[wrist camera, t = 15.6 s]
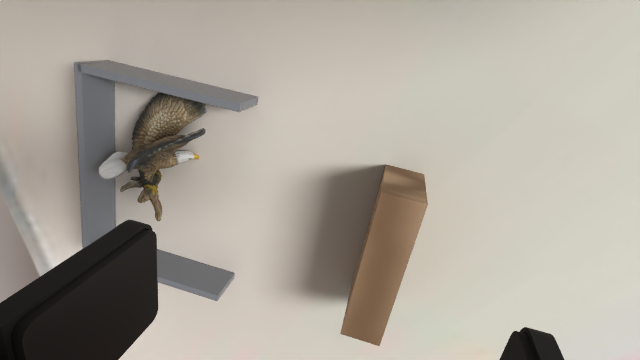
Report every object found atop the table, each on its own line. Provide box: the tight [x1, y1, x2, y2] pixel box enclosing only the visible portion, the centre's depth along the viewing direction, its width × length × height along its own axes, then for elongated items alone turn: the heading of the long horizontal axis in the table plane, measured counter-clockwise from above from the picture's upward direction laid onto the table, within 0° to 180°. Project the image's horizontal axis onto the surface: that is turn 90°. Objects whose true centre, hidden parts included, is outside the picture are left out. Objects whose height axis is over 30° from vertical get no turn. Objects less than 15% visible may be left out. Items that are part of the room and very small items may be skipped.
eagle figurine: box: [99, 93, 206, 221], centre depth 30 cm, size 8×7×9 cm
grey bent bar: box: [74, 60, 258, 301], centre depth 33 cm, size 13×18×4 cm
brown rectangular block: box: [341, 165, 428, 346], centre depth 29 cm, size 3×12×6 cm, turn 168°
